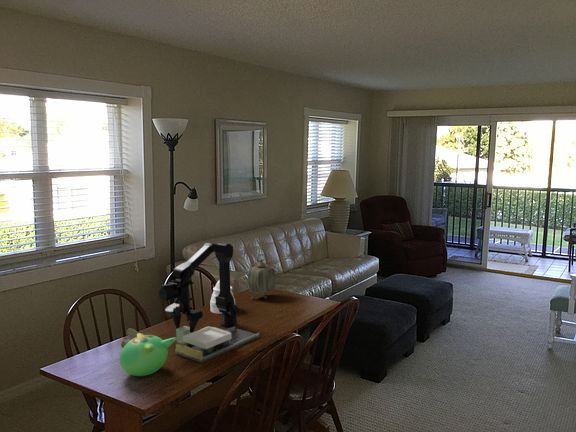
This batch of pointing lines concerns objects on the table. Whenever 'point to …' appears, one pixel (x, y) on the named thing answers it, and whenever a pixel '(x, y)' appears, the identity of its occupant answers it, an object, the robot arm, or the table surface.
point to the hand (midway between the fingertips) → (184, 331)
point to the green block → (182, 333)
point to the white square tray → (208, 338)
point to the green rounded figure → (144, 354)
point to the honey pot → (213, 300)
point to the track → (216, 346)
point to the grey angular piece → (131, 333)
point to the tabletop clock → (261, 278)
